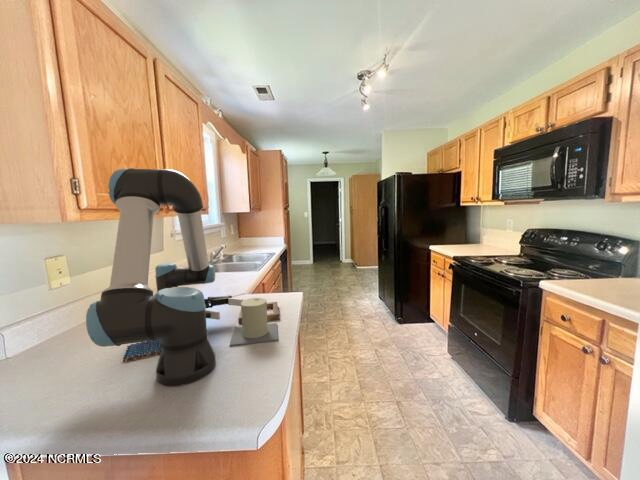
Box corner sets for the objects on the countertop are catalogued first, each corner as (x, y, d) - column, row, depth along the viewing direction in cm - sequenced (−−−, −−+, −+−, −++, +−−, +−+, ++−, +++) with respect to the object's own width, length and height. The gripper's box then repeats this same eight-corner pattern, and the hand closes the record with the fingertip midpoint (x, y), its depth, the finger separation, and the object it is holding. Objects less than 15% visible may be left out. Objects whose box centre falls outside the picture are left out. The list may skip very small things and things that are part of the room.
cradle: (238, 323, 107) (238, 318, 107) (242, 309, 123) (242, 304, 123) (278, 319, 110) (278, 314, 110) (277, 306, 126) (277, 301, 126)
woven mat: (163, 355, 86) (162, 349, 85) (122, 365, 81) (121, 358, 80) (164, 341, 95) (164, 336, 94) (128, 349, 90) (127, 344, 90)
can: (271, 327, 102) (269, 296, 100) (263, 338, 92) (262, 305, 91) (247, 326, 102) (246, 296, 101) (238, 338, 93) (236, 304, 92)
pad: (229, 346, 89) (229, 344, 89) (234, 328, 102) (234, 327, 102) (278, 340, 92) (278, 339, 92) (276, 324, 105) (276, 323, 105)
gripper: (210, 302, 118) (251, 306, 111) (160, 325, 95) (208, 332, 88) (209, 286, 118) (250, 289, 111) (158, 305, 94) (206, 310, 87)
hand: (231, 308), depth 99 cm, fingers open, 13 cm apart
